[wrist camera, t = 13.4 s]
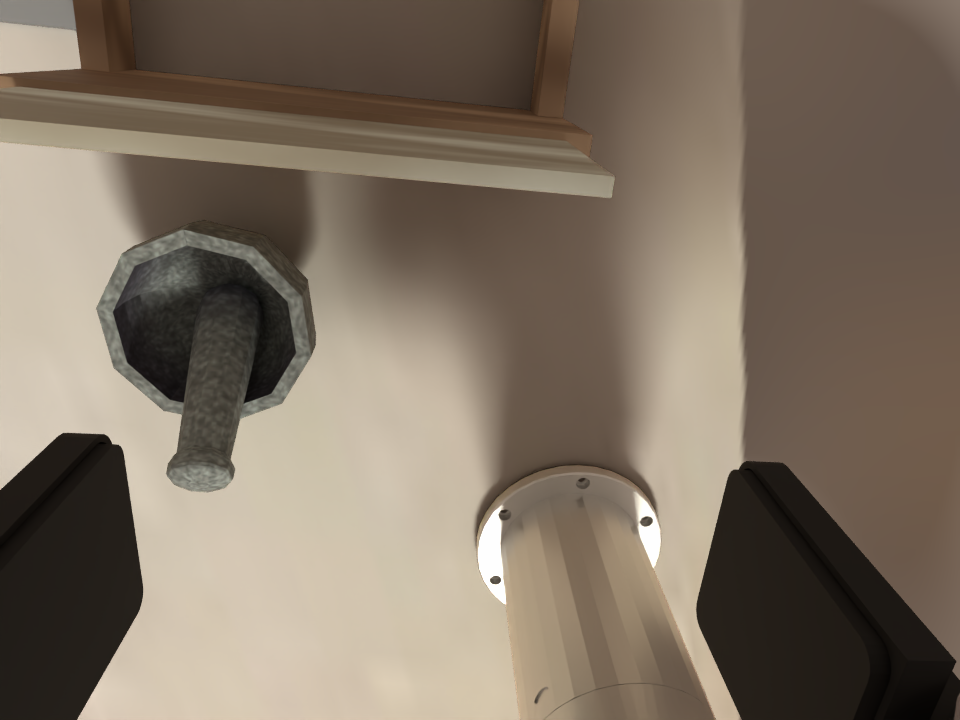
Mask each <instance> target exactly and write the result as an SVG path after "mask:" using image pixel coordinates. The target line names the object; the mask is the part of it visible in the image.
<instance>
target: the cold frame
mask: <svg viewBox="0 0 960 720" xmlns="http://www.w3.org/2000/svg"><path fill="white" fill-rule="evenodd" d="M578 6H579V0H544V2H543V10H542V18H541V26H540V35H539V43H538V51H537V59H536V67H535V75H534V83H533V91H532V100H531V108H530V110H522V109H512V108H503V107H493V106H483V105H473V104H464V103H454V102H444V101H435V100H425V99H415V98H405V97H396V96H386V95H376V94H367V93H357V92H347V91H337V90H328V89H318V88H308V87H298V86H289V85H279V84H269V83H260V82H250V81H240V80H230V79H221V78H211V77H201V76H192V75H182V74H172V73H162V72H153V71H143V70H136V64H135V54H134V44H133V33H132V23H131V13H130V3H129V0H73V8H74V15H75V23H76V31H77V38H78V46H79V54H80V61H81V69H73V70H56V71H40V72H24V73H8V74H0V142H4V143H15V144H26V145H37V146H48V147H59V148H70V149H81V150H91V151H102V152H113V153H124V154H135V155H146V156H157V157H168V158H179V159H190V160H200V161H211V162H222V163H233V164H244V165H255V166H266V167H277V168H288V169H299V170H309V171H320V172H331V173H342V174H353V175H364V176H375V177H386V178H397V179H407V180H418V181H429V182H440V183H451V184H462V185H473V186H484V187H495V188H506V189H516V190H527V191H538V192H549V193H560V194H571V195H582V196H593V197H604V198H612V192H613V187H614V181H615V176H614V175H612V174H611V173H610V172H608V171H607V170H605V169H604V168H603V167H601V166H600V165H599V164H597V163H596V162H594V161H593V160H592V159H590V158H589V156H590V150H591V144H592V137H593V135H591V134H590V133H588V132H586V131H584V130H583V129H581V128H579V127H577V126H576V125H574V124H572V123H570V122H568V121H567V120H565V119H563V112H564V105H565V98H566V91H567V84H568V77H569V70H570V63H571V56H572V49H573V42H574V35H575V28H576V21H577V13H578Z"/></svg>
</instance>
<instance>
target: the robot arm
mask: <svg viewBox="0 0 960 720" xmlns="http://www.w3.org/2000/svg"><path fill="white" fill-rule="evenodd" d="M661 542H662V537H661V526H660V523H659V520H658V518H657V515H656V512H655V510H654V508H653V506H652V504H651V503H650V501H649V499H648V498H647V497H646V495H645V494H644V493H643V492H642V491H641V489H640V488H639V487H637V486H636V485H635V484H634V483H632V482H631V481H630V480H628V479H627V478H625V477H623V476H621V475H619V474H617V473H615V472H613V471H609V470H605V469H602V468H598V467H592V466H582V465H572V466H559V467H555V468H550V469H546V470H542V471H539V472H537V473H534V474H532V475H529V476H527V477H524V478H523V479H521V480H520V481H518V482H516V483H515V484H513V485H511V486H510V487H509V488H507V489H506V490H505V491H504V492H503V493H502V494H501V495H499V496H498V497H497V498H496V499H495V501H494V502H493V503H492V505H491V506H490V507H489V508H488V510H487V511H486V513H485V515H484V517H483V519H482V521H481V523H480V526H479V531H478V535H477V560H478V568H479V570H480V573H481V576H482V578H483V581H484V582H485V584H486V585H487V587H488V588H489V590H490V591H491V592H492V593H493V594H494V595H495V596H496V597H497V598H498V599H499V600H500V601H501V602H503V603H504V604H506V612H507V620H508V628H509V637H510V645H511V653H512V661H513V669H514V677H515V686H516V694H517V702H518V710H519V718H520V720H716V718H715V716H714V713H713V711H712V708H711V706H710V703H709V701H708V699H707V696H706V694H705V691H704V689H703V686H702V684H701V682H700V679H699V677H698V674H697V672H696V670H695V667H694V665H693V662H692V660H691V657H690V655H689V653H688V650H687V648H686V645H685V643H684V641H683V638H682V636H681V633H680V631H679V629H678V626H677V624H676V621H675V619H674V617H673V614H672V612H671V609H670V607H669V604H668V602H667V600H666V597H665V595H664V592H663V590H662V588H661V585H660V583H659V580H658V578H657V576H656V573H655V571H654V568H655V565H656V563H657V560H658V557H659V555H660V549H661ZM142 598H143V583H142V576H141V569H140V562H139V556H138V549H137V542H136V535H135V528H134V521H133V514H132V508H131V501H130V494H129V487H128V480H127V473H126V467H125V460H124V454H123V450H122V448H121V446H119V445H114V444H112V442H111V440H110V439H109V437H108V436H106V435H105V434H81V433H63V434H61V435H59V436H58V437H57V438H56V439H55V440H54V441H52V442H51V443H50V444H49V445H48V446H47V447H46V448H45V449H44V450H43V451H42V452H41V453H40V454H39V455H37V456H36V457H35V458H34V459H33V460H32V461H31V462H30V463H29V464H28V465H27V466H26V467H25V468H23V469H22V470H21V471H20V472H19V473H18V474H17V475H16V476H15V477H14V478H13V479H12V480H11V481H10V482H8V483H7V484H6V485H5V486H4V487H3V488H2V489H1V490H0V720H77V719H78V717H79V715H80V713H81V712H82V710H83V708H84V706H85V705H86V703H87V701H88V699H89V698H90V696H91V694H92V692H93V691H94V689H95V687H96V686H97V684H98V682H99V680H100V679H101V677H102V675H103V673H104V672H105V670H106V668H107V666H108V665H109V663H110V661H111V659H112V658H113V656H114V654H115V652H116V651H117V649H118V647H119V645H120V644H121V642H122V640H123V638H124V637H125V635H126V633H127V631H128V630H129V628H130V626H131V624H132V623H133V621H134V619H135V617H136V616H137V614H138V612H139V610H140V606H141V603H142ZM696 612H697V620H698V624H699V627H700V629H701V631H702V634H703V636H704V638H705V640H706V642H707V644H708V647H709V649H710V651H711V653H712V655H713V658H714V660H715V662H716V664H717V666H718V669H719V671H720V673H721V675H722V677H723V679H724V682H725V684H726V686H727V688H728V690H729V693H730V695H731V697H732V699H733V701H734V704H735V706H736V708H737V710H738V712H739V714H740V717H741V719H742V720H960V680H959V679H958V678H957V677H956V675H955V674H954V673H953V672H952V670H953V668H954V665H955V663H956V660H955V659H954V658H953V657H952V656H951V655H950V654H949V652H948V651H947V650H946V649H945V648H944V646H942V644H941V643H940V642H939V641H938V640H937V638H936V637H935V636H934V635H933V634H932V633H931V632H930V630H929V629H928V628H927V627H926V626H925V625H924V623H923V622H922V621H921V620H920V619H919V618H918V617H917V615H916V614H915V613H914V612H913V611H912V610H911V609H910V607H909V606H908V605H907V604H906V603H905V602H904V600H903V599H902V598H901V597H900V596H899V595H898V594H897V593H896V591H895V590H894V589H893V588H892V587H891V586H890V584H889V583H888V582H887V581H886V580H885V579H884V577H882V575H881V574H880V573H879V572H878V571H877V569H876V568H875V567H874V566H873V565H872V564H871V562H870V561H869V560H868V559H867V558H866V557H865V555H864V554H863V553H862V552H861V551H860V550H859V549H858V547H857V546H856V545H855V544H854V543H853V542H852V541H851V539H850V538H849V537H848V536H847V535H846V534H845V533H844V531H843V530H842V529H841V528H840V527H839V526H838V524H837V523H836V522H835V521H834V520H833V519H832V518H831V516H830V515H829V514H828V513H827V512H826V511H825V509H824V508H823V507H822V506H821V505H820V504H819V502H818V501H817V500H816V499H815V498H814V497H813V496H812V494H811V493H810V492H809V491H808V490H807V489H806V488H805V486H804V485H803V484H802V483H801V482H800V481H799V480H798V479H797V477H796V476H795V475H794V474H793V473H792V471H791V470H790V469H789V468H788V467H787V466H786V465H785V464H783V463H778V462H755V461H753V462H752V461H746V462H744V463H743V464H742V465H741V466H740V468H739V470H733V471H731V473H730V474H729V476H728V479H727V483H726V487H725V491H724V495H723V499H722V503H721V507H720V511H719V515H718V519H717V523H716V527H715V532H714V536H713V540H712V544H711V548H710V552H709V556H708V560H707V564H706V568H705V572H704V576H703V580H702V584H701V588H700V592H699V596H698V600H697V607H696Z"/></svg>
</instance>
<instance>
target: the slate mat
mask: <svg viewBox="0 0 960 720" xmlns="http://www.w3.org/2000/svg"><path fill="white" fill-rule="evenodd" d="M0 22H5V23H14V24H23V25H33V26H42V27H51V28H61V29H70V30H76V23H75V15H74V8H73V0H0Z"/></svg>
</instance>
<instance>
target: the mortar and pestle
mask: <svg viewBox="0 0 960 720" xmlns="http://www.w3.org/2000/svg"><path fill="white" fill-rule="evenodd" d="M96 309H97V312H98V316H99V319H100V323H101V326H102V329H103V333H104V336H105V340H106V343H107V346H108V350H109V353H110V357H111V360H112V363H113V367H114V369H116V370H117V371H118V372H119V373H120V374H121V375H123V376H124V377H125V378H126V379H127V380H128V381H130V382H131V383H132V384H133V385H134V386H135V387H137V388H138V389H139V390H140V391H141V392H143V393H144V394H145V395H146V396H147V397H148V398H150V399H151V400H152V401H153V402H154V403H155V404H157V405H158V406H159V407H160V408H161V409H162V410H164V411H167V412H172V413H177V414H182V419H181V426H180V433H179V441H178V448H177V453H176V454H175V455H174V456H173V458H172V459H171V460H170V462H169V463H168V467H167V473H166V474H167V477H168V478H169V479H170V480H171V481H172V482H173V484H174V485H176V486H178V487H181V488H184V489H187V490H189V491H197V492H211V491H215V490H219V489H223V488H225V487H226V486H227V485H228V484H229V483H230V482H231V480H232V479H233V477H234V471H235V468H234V466H233V464H232V462H231V460H230V459H231V455H232V450H233V446H234V442H235V438H236V434H237V429H238V425H239V421H240V419H241V418H244V417H246V416H249V415H252V414H255V413H257V412H260V411H263V410H265V409H268V408H271V407H274V406H276V405H279V404H282V403H283V401H284V399H285V398H286V396H287V395H288V393H289V391H290V390H291V388H292V386H293V385H294V383H295V382H296V380H297V378H298V377H299V375H300V373H301V372H302V370H303V369H304V367H305V365H306V364H307V362H308V360H309V359H310V357H311V355H312V353H313V350H314V348H315V346H316V332H315V325H314V319H313V312H312V305H311V299H310V292H309V286H308V279H307V278H306V277H305V276H304V275H303V274H302V273H301V272H300V271H299V270H298V269H297V268H296V267H295V266H294V265H293V264H292V263H291V262H290V261H289V260H288V259H287V257H286V256H285V255H284V254H283V253H282V252H281V251H280V250H279V249H278V248H277V247H276V246H275V245H274V244H273V243H272V242H271V241H270V240H269V239H268V238H267V237H266V236H265V235H262V234H258V233H254V232H250V231H246V230H242V229H238V228H234V227H230V226H226V225H222V224H218V223H214V222H210V221H206V220H203V221H198V222H193V223H190V224H188V225H185V226H183V227H180V228H178V229H175V230H173V231H170V232H168V233H165V234H163V235H160V236H158V237H155V238H153V239H150V240H148V241H145V242H143V243H140V244H138V245H135V246H133V247H132V248H130V249H129V250H127V251H126V252H124V253H122V255H121V257H120V259H119V261H118V263H117V265H116V267H115V270H114V272H113V274H112V276H111V278H110V280H109V282H108V284H107V287H106V289H105V291H104V293H103V295H102V297H101V299H100V301H99V303H98V306H97V308H96Z"/></svg>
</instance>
